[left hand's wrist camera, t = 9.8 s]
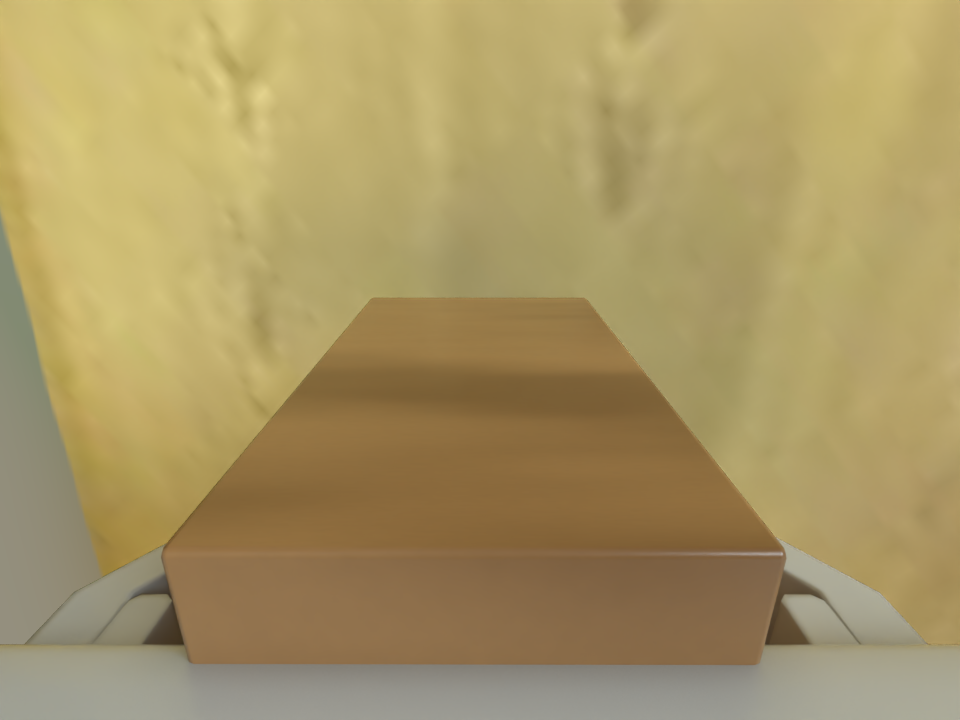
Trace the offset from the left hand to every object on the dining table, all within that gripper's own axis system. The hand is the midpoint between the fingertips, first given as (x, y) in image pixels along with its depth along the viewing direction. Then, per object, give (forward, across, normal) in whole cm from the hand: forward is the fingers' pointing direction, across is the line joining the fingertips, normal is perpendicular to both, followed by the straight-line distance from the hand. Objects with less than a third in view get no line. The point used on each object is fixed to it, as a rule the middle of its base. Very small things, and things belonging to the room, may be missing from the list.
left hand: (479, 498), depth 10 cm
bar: (+4, 0, -9) cm, 10 cm away
